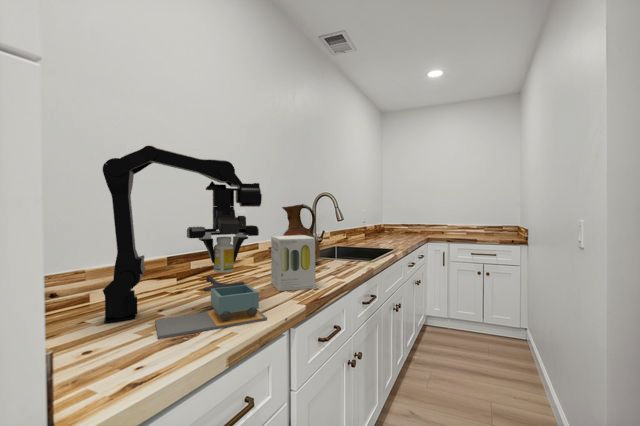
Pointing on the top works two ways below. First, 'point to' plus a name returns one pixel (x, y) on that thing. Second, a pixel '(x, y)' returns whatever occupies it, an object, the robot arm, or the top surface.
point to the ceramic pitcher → (300, 225)
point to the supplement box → (293, 262)
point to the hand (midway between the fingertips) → (223, 262)
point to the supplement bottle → (223, 255)
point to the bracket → (220, 284)
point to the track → (202, 322)
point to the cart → (234, 300)
